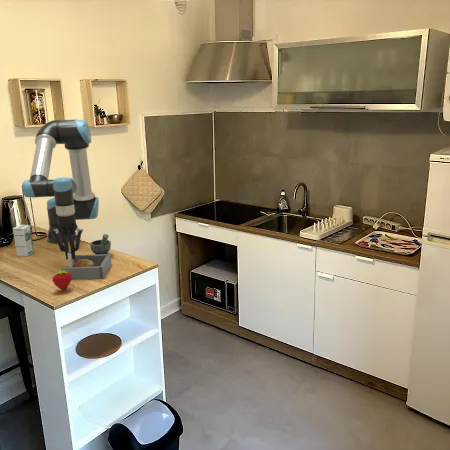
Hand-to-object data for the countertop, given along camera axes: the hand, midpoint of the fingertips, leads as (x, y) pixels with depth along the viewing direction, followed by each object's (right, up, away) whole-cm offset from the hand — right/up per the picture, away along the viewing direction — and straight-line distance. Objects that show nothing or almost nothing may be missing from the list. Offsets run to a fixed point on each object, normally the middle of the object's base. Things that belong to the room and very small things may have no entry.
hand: (71, 266), depth 202 cm
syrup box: (-31, +3, +25) cm, 40 cm away
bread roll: (+6, -3, 0) cm, 6 cm away
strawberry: (+3, -8, -18) cm, 20 cm away
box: (+7, -3, +1) cm, 7 cm away
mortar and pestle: (+8, +3, +20) cm, 22 cm away
